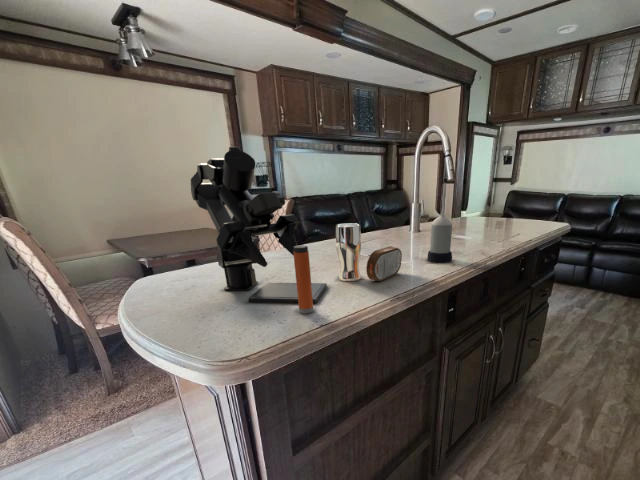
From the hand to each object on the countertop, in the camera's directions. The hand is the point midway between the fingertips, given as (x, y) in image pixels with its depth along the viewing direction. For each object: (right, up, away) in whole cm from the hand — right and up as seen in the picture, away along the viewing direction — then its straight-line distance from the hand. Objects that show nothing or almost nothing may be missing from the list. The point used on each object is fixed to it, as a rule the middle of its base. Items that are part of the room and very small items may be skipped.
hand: (283, 261), depth 68 cm
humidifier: (+43, +5, +41) cm, 59 cm away
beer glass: (+13, -2, +23) cm, 26 cm away
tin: (+23, -2, +23) cm, 33 cm away
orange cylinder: (+5, -11, 0) cm, 12 cm away
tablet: (-1, -7, +11) cm, 13 cm away
